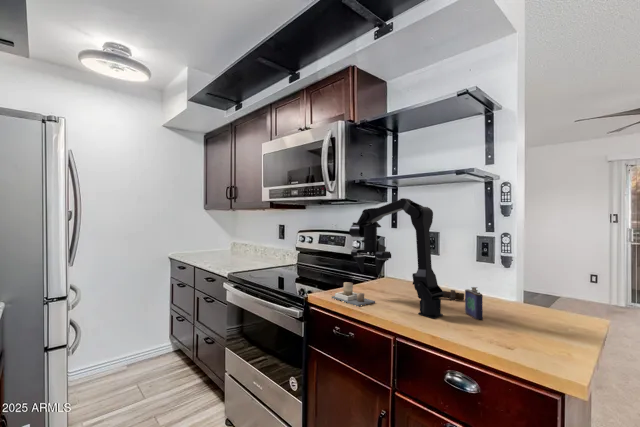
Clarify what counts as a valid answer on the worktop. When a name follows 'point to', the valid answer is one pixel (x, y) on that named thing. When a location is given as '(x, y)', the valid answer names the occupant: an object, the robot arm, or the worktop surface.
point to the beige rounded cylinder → (348, 289)
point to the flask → (474, 304)
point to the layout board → (353, 298)
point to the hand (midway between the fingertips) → (370, 273)
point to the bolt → (453, 295)
